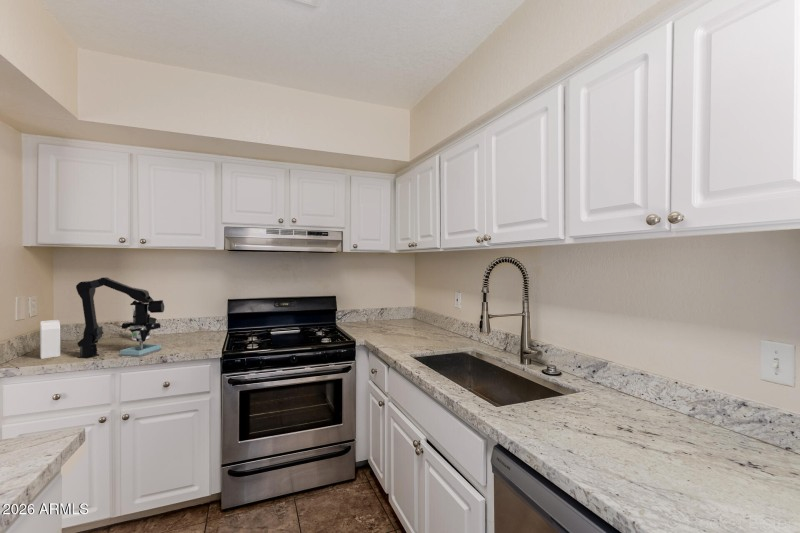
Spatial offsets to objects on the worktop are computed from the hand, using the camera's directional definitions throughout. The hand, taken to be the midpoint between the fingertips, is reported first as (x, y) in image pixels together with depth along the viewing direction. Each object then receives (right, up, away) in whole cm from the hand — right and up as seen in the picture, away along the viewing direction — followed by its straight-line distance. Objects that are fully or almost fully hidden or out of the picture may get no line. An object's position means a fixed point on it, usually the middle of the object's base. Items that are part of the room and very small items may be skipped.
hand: (141, 341), depth 196 cm
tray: (0, -7, 0) cm, 7 cm away
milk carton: (-42, -6, -8) cm, 43 cm away
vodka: (-25, -6, +34) cm, 43 cm away
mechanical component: (0, -4, 0) cm, 4 cm away
